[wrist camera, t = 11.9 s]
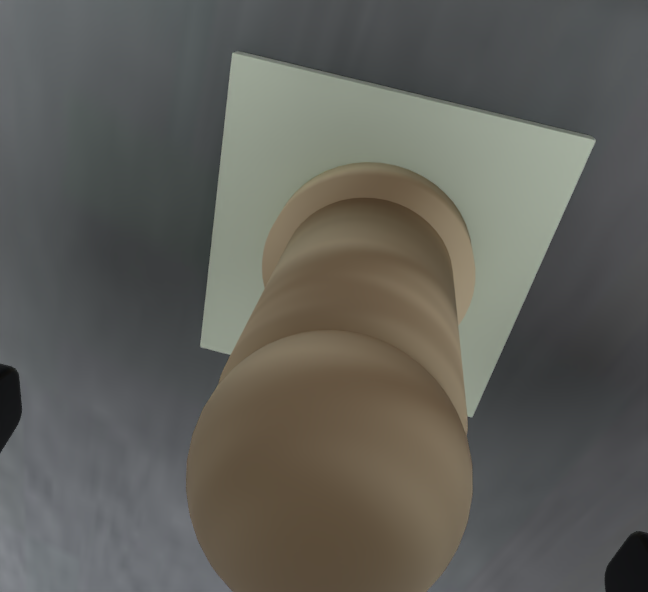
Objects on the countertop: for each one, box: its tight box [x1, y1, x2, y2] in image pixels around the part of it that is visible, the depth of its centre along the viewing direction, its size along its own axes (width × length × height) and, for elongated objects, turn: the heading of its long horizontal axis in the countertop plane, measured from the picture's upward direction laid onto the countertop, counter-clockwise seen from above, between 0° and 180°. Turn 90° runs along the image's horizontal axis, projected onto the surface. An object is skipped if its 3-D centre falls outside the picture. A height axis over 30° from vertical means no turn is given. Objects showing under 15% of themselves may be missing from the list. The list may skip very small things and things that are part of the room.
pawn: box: [186, 162, 475, 592], centre depth 10 cm, size 5×5×9 cm
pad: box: [200, 51, 596, 417], centre depth 14 cm, size 8×8×1 cm
